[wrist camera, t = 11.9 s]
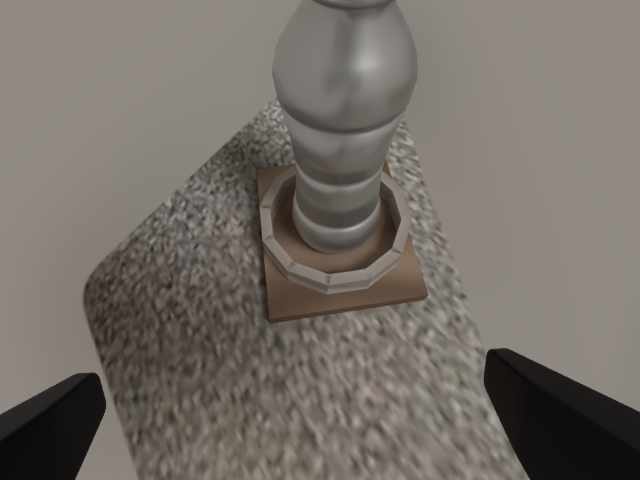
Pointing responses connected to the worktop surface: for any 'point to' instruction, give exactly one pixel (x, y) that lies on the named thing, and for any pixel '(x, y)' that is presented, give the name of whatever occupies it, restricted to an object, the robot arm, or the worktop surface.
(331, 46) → the silver bottle
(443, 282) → the worktop surface
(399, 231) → the square coaster with ring
